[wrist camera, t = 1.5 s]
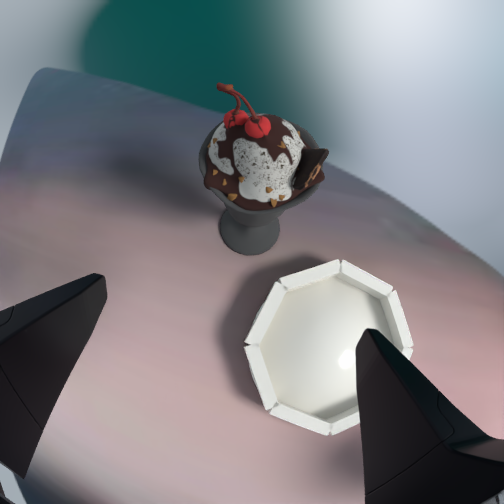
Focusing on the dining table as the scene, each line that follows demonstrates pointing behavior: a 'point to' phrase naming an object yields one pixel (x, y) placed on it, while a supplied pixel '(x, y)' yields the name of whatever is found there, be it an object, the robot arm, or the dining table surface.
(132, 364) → the dining table surface
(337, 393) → the dish
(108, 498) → the dining table surface
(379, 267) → the dining table surface
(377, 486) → the robot arm
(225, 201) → the sundae
